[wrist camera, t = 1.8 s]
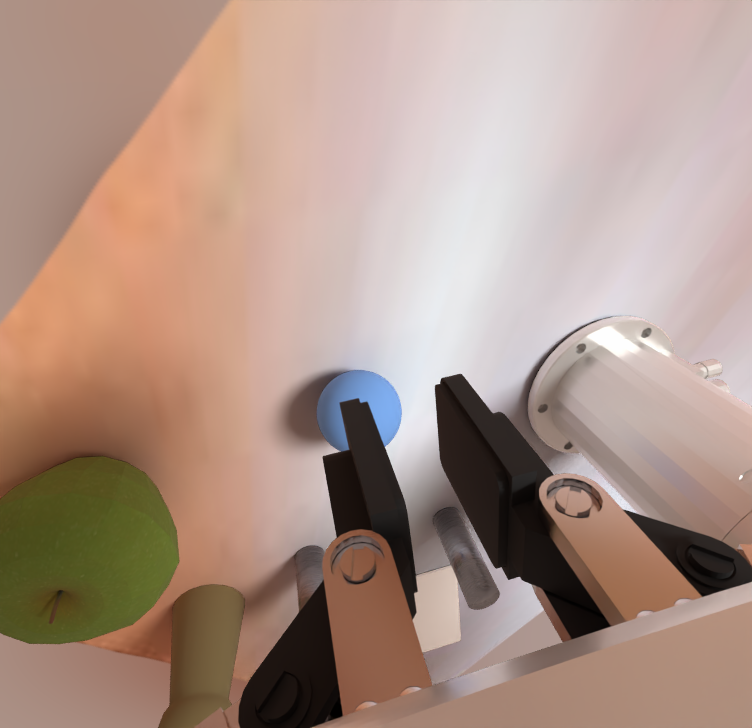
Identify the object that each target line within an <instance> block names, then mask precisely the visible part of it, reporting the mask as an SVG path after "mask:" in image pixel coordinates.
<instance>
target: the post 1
mask: <svg viewBox="0 0 752 728" xmlns="http://www.w3.org/2000/svg"><path fill="white" fill-rule="evenodd" d="M324 554H325V552H324V550H323V549H322V548H320V547H318V546H307V547H304V548H302V549H301V550H299V551H298V552H297V553H296V555H295V565H296V578H297V591H298V605H299V612H300V611H301V609H302V608H303V607H304V605H305V604H306V603H307V601H308V600H309V599H310V597H311V596H312V594H313V593H314V592H315V590H316V589H317V588H318V586H319V585H320V584H321V582H322V581H323V580H324V577H323V570H322V564H323V557H324Z"/></svg>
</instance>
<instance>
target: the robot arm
mask: <svg viewBox="0 0 752 728" xmlns="http://www.w3.org/2000/svg"><path fill="white" fill-rule="evenodd" d="M721 373H722V366H721V363H720V362H718V361H717V360H715V359H711V360H707V361H703V362H699V363H696V364H694V365H692V364H690V363H689V362H687V361H685V360H683V359H682V358H680V357H678V356H676V355H675V353H674V347H673V345H672V342H671V340H670V338H669V337H668V335H667V334H666V333H665V332H664V330H662V329H661V328H659V327H658V326H656V325H655V324H653V323H651V322H648V321H646V320H644V319H642V318H638V317H633V316H615V317H611V318H607V319H602V320H600V321H597V322H595V323H592V324H590V325H587V326H586V327H584V328H582V329H581V330H579V331H577V332H576V333H574V334H572V335H571V336H570V337H569V338H567V339H566V340H565V341H564V342H562V343H561V344H560V345H559V346H558V347H557V348H556V349H555V350H554V351H553V352H552V353H551V354H550V356H549V357H548V358H547V360H546V361H545V362H544V364H543V365H542V367H541V368H540V369H539V371H538V373H537V375H536V377H535V379H534V381H533V384H532V387H531V390H530V393H529V399H528V416H529V420H530V423H531V425H532V428H533V429H534V431H535V432H536V433H537V435H538V436H539V437H540V438H541V439H542V440H543V441H544V442H545V443H546V444H547V445H548V446H550V447H552V448H553V449H555V450H558V451H561V452H565V453H581V454H582V455H583V456H584V457H585V459H586V460H587V461H588V462H589V463H590V464H591V465H592V466H593V467H594V468H595V469H596V470H597V471H598V472H599V473H600V474H601V475H602V476H603V477H604V479H605V480H606V481H607V482H608V483H609V484H610V485H611V486H612V487H613V488H614V489H615V490H616V491H617V492H618V493H619V494H620V495H621V496H622V497H623V499H624V500H625V501H626V502H627V503H628V504H629V505H630V506H631V507H632V508H633V509H634V510H635V511H636V512H637V513H638V514H636V513H633V512H630V511H626V510H623V509H622V508H621V507H620V506H619V505H618V504H617V503H616V502H615V501H614V500H613V498H612V497H611V496H610V495H609V494H608V493H607V492H606V491H605V490H604V489H603V488H602V487H601V486H600V485H599V484H597V483H596V482H595V481H593V480H591V479H589V478H587V477H584V476H581V475H577V474H569V473H563V474H556V475H554V474H553V473H552V472H551V471H550V470H549V468H548V467H547V466H546V465H545V463H544V462H543V461H542V460H541V459H540V457H539V456H538V455H537V454H536V452H535V451H534V450H533V449H532V448H531V446H530V445H529V444H528V443H527V441H526V440H525V439H524V438H523V437H522V435H521V434H520V433H519V432H518V430H517V429H516V428H515V427H514V425H513V424H512V423H511V422H510V421H509V419H508V418H507V417H506V416H505V415H504V414H503V413H501V412H497V413H492V412H491V411H490V410H489V408H488V407H487V406H486V404H485V403H484V402H483V401H482V399H481V398H480V397H479V395H478V394H477V393H476V392H475V390H474V389H473V388H472V386H471V385H470V384H469V383H468V381H467V380H466V379H465V377H464V376H463V375H462V374H457V375H453V376H449V377H445V378H442V379H441V381H440V384H437V385H435V397H436V410H437V424H438V438H439V451H440V460H441V464H442V467H443V469H444V471H445V473H446V475H447V477H448V479H449V481H450V483H451V485H452V487H453V489H454V491H455V493H456V495H457V496H458V498H459V500H460V502H461V504H462V506H463V508H464V510H465V512H466V514H467V516H468V518H469V520H470V522H471V524H472V526H473V527H474V529H475V531H476V533H477V535H478V537H479V539H480V541H481V543H482V545H483V547H484V549H485V551H486V553H487V555H488V557H489V558H490V560H491V562H492V564H493V566H494V567H495V568H496V569H497V568H500V567H502V569H503V571H504V573H505V575H506V576H507V578H508V580H510V579H513V578H516V577H521V579H522V580H523V581H525V582H528V583H530V584H532V587H533V589H534V592H535V594H536V596H537V598H538V600H539V601H540V603H541V605H542V607H543V608H544V610H545V612H546V614H547V615H548V617H549V619H550V621H551V622H552V624H553V626H554V628H555V630H556V631H557V633H558V635H559V636H560V638H561V640H562V642H563V643H560V644H557V645H554V646H551V647H547V648H545V649H541V650H539V651H535V652H532V653H529V654H526V655H523V656H520V657H517V658H514V659H511V660H508V661H505V662H502V663H499V664H496V665H493V666H490V667H487V668H484V669H481V670H478V671H475V672H472V673H469V674H466V675H463V676H460V677H457V678H454V679H451V680H448V681H445V682H442V683H439V684H436V685H433V686H432V682H431V679H430V676H429V672H428V669H427V666H426V663H425V659H424V656H423V653H422V650H421V646H420V643H419V640H418V636H417V633H416V630H415V627H414V623H413V618H414V616H415V615H416V613H417V611H416V604H415V597H414V593H416V592H418V588H417V581H416V573H415V566H414V559H413V551H412V544H411V536H410V529H409V521H408V514H407V509H406V505H405V501H404V498H403V495H402V492H401V490H400V487H399V484H398V481H397V479H396V476H395V473H394V471H393V468H392V465H391V463H390V460H389V457H388V455H387V452H386V449H385V447H384V444H383V441H382V439H381V436H380V433H379V431H378V428H377V425H376V422H375V420H374V417H373V414H372V412H371V409H370V406H369V404H368V402H367V401H366V402H362V403H360V400H359V398H356V399H352V400H347V401H343V402H339V404H340V409H341V414H342V418H343V423H344V428H345V433H346V438H347V442H348V447H349V450H346V451H342V452H338V453H334V454H330V455H326V456H323V463H324V468H325V474H326V480H327V485H328V491H329V496H330V502H331V508H332V513H333V519H334V524H335V530H336V536H337V538H336V539H335V540H334V541H332V543H331V544H330V545H329V547H328V548H327V549H326V552H325V554H324V557H323V564H322V570H323V577H324V580H323V581H322V582H321V584H320V585H319V586H318V588H317V589H316V590H315V592H314V593H313V594H312V596H311V597H310V599H309V600H308V601H307V603H306V604H305V605H304V607H303V608H302V609H301V611H300V612H299V613H298V615H297V616H296V618H295V619H294V620H293V622H292V623H291V624H290V626H289V627H288V628H287V630H286V631H285V632H284V634H283V635H282V637H281V638H280V639H279V641H278V642H277V643H276V645H275V646H274V647H273V649H272V650H271V651H270V653H269V654H268V655H267V657H266V658H265V660H264V661H263V662H262V664H261V665H260V666H259V668H258V669H257V670H256V672H255V673H254V674H253V676H252V677H251V679H250V680H249V682H248V684H247V686H246V687H245V689H244V691H243V694H242V697H241V698H240V699H239V700H238V701H237V702H235V703H234V704H233V705H231V706H230V707H229V708H227V709H226V710H225V711H223V710H222V708H221V707H220V708H219V709H218V710H216V711H215V712H214V713H212V714H211V715H210V716H208V717H207V718H206V719H204V720H203V721H202V722H201V723H199V724H198V725H197V726H195V727H194V728H752V406H750V405H748V404H747V403H745V402H743V401H741V400H740V399H738V398H736V397H735V396H733V395H731V394H730V389H729V387H728V385H727V384H726V383H725V382H724V381H722V380H719V379H715V380H711V381H708V380H706V379H707V378H711V377H715V376H718V375H720V374H721Z"/></svg>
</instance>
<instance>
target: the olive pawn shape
mask: <svg viewBox="0 0 752 728" xmlns="http://www.w3.org/2000/svg"><path fill="white" fill-rule="evenodd" d="M244 608H245V599H244V597H243V596H242V594H241V593H240V592H239V591H237V590H236V589H234V588H231V587H228V586H225V585H205V586H200V587H197V588H194V589H191V590H189V591H187V592H186V593H184V594H182V595H181V596H180V597H179V598H178V599H177V600H176V601H175V604H174V607H173V617H172V646H171V676H170V705H169V707H168V708H167V710H166V711H165V712H164V714H163V716H162V719H161V721H160V724H159V727H158V728H194V727H195V726H197V725H198V724H199V723H201V722H202V721H203V720H204V719H206V718H207V717H208V716H210V715H211V714H212V713H214V712H215V711H216V710H218V709H219V708H220V707H221V708H222V710H223V711H225V710H226V709H227V708H229V707H230V706H231V705H232V704H231V702H230V701H229V693H230V687H231V681H232V676H233V670H234V664H235V659H236V653H237V647H238V642H239V636H240V630H241V625H242V619H243V613H244Z"/></svg>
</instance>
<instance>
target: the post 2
mask: <svg viewBox="0 0 752 728" xmlns="http://www.w3.org/2000/svg"><path fill="white" fill-rule="evenodd" d="M433 524H434V526H435V528H436V531H437V533H438V535H439V538H440V540H441V543H442V545H443V547H444V550H445V552H446V554H447V557H448V559H449V561H450V564H451V566H452V569H453V571H454V573H455V576H456V578H457V580H458V583H459V585H460V587H461V590H462V592H463V595H464V597H465V599H466V602H467V604H468V606H469V607H470V608H471V609H475V610H479V609H484V608H486V607H489V606H490V605H492V604H493V603H495V602H496V601H497V599H498V598H499V595H500V593H499V590H498V588H497V586H496V584H495V582H494V580H493V578H492V576H491V574H490V572H489V570H488V568H487V566H486V564H485V562H484V560H483V558H482V556H481V554H480V552H479V550H478V548H477V546H476V544H475V542H474V540H473V538H472V536H471V534H470V532H469V530H468V528H467V526H466V524H465V522H464V520H463V518H462V516H461V514H460V512H459V511H458V510H457V509H456V508H445V509H442V510H441V511H439V512H438V513H437V514H436V515H435V516H434V518H433Z"/></svg>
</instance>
